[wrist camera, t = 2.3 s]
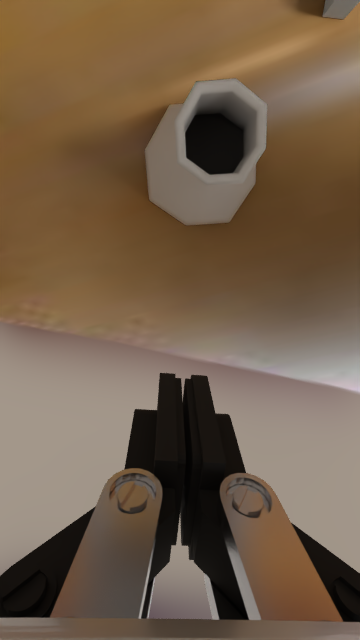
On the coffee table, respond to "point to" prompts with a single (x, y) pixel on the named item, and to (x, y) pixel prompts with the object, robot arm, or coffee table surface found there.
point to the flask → (207, 152)
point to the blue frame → (338, 8)
